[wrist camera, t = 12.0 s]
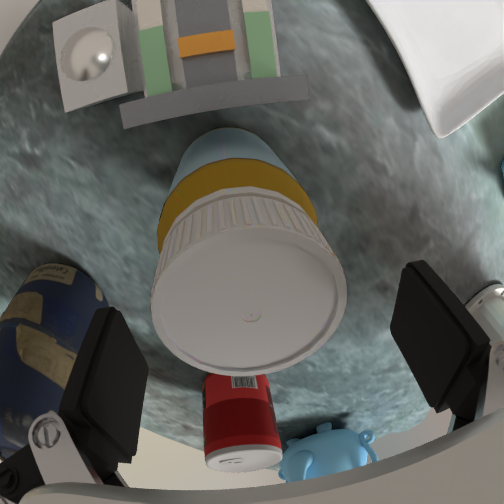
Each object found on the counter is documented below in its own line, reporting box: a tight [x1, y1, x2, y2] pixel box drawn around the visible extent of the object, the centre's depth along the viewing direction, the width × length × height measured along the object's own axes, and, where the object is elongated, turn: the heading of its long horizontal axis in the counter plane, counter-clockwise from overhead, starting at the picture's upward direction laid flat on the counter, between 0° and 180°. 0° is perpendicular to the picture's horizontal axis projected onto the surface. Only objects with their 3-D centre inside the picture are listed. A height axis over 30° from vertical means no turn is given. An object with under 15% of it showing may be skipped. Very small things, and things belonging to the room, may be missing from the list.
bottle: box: [150, 127, 347, 376], centre depth 16 cm, size 7×7×15 cm
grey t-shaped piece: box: [119, 0, 309, 129], centre depth 12 cm, size 8×11×7 cm
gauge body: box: [53, 0, 281, 113], centre depth 14 cm, size 13×11×5 cm
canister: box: [0, 263, 109, 461], centre depth 18 cm, size 10×10×18 cm
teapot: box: [278, 423, 379, 483], centre depth 42 cm, size 16×20×14 cm
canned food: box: [202, 373, 283, 473], centre depth 30 cm, size 8×8×11 cm
